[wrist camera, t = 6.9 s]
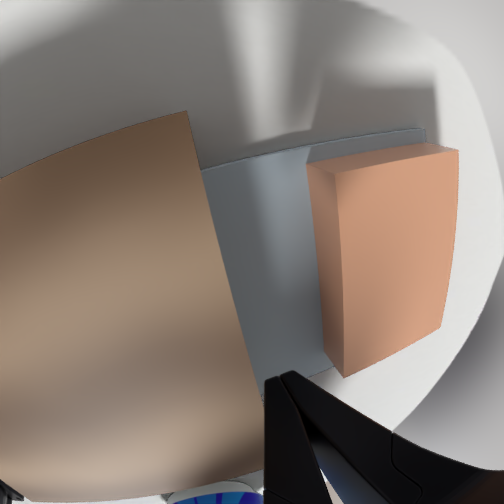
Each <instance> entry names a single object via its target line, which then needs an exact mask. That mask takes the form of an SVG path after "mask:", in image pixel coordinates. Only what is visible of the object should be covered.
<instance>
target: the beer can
mask: <svg viewBox="0 0 504 504" xmlns="http://www.w3.org/2000/svg"><path fill="white" fill-rule="evenodd" d="M167 504H263V495H261V494H260V493H258V492H255V491H254V490H252V488H251V487H250V486H248V485H246V484H244V483H240V482H232V481H221V482H217V483H213V484H209V485H205V486H200V487H196V488H191V489H187V490H182V491H176V492H175V493H173V494H172V495H171V496H170V497H169V498H168V500H167Z"/></svg>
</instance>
